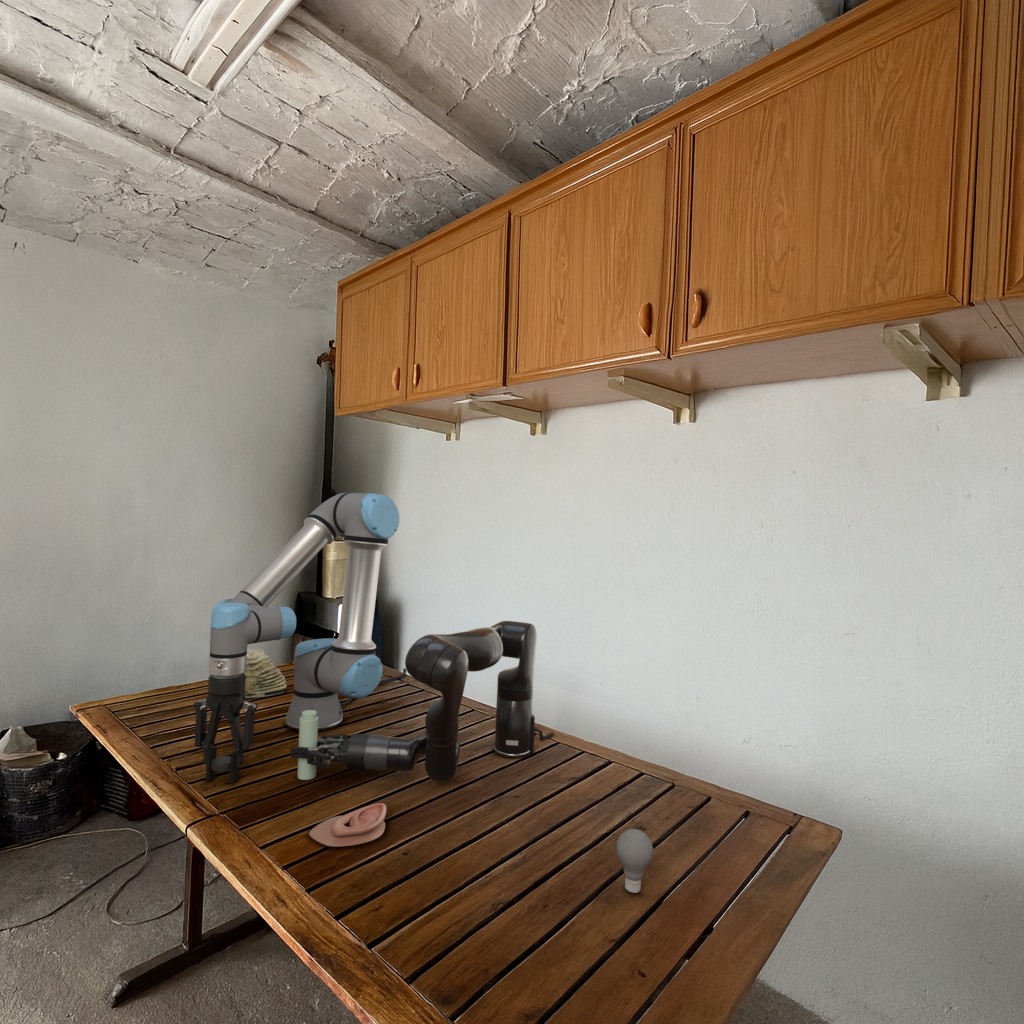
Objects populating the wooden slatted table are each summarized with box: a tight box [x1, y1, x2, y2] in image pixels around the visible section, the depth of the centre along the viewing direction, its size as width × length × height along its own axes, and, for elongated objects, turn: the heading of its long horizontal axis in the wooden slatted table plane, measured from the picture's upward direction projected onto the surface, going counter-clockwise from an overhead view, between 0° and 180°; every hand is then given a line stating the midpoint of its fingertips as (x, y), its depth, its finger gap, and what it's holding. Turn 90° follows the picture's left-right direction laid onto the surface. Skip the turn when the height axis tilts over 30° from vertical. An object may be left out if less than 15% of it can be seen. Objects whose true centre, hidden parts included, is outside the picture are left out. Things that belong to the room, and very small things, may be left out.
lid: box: [211, 755, 231, 773], centre depth 139 cm, size 5×5×2 cm
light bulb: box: [615, 828, 654, 894], centre depth 106 cm, size 6×6×10 cm
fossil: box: [244, 647, 288, 699], centre depth 198 cm, size 9×18×15 cm, turn 132°
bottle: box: [297, 710, 319, 781], centre depth 143 cm, size 4×4×15 cm
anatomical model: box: [308, 802, 387, 848], centre depth 120 cm, size 13×4×12 cm
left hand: (222, 779), depth 139 cm, fingers closed on lid, 5 cm apart
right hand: (295, 747), depth 143 cm, fingers closed on bottle, 4 cm apart
